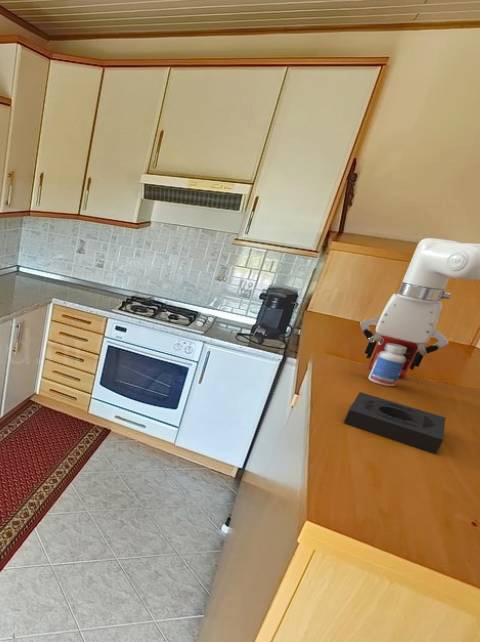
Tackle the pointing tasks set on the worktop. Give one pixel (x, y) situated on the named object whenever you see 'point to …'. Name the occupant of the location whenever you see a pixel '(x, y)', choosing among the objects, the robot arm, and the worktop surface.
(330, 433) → the worktop surface
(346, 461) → the worktop surface
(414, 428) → the socket pad
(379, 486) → the worktop surface
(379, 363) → the pill bottle
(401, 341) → the canned food
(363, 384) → the worktop surface
